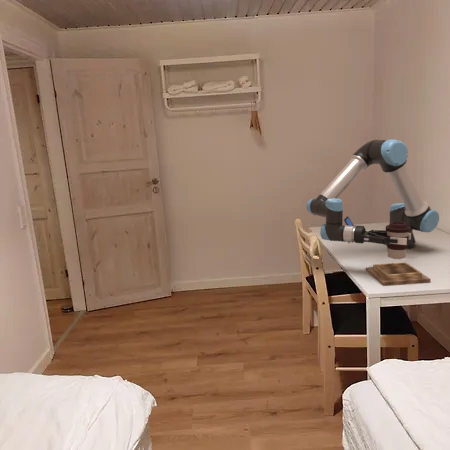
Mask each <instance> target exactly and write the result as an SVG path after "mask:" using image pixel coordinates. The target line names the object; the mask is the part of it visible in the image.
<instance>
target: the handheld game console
mask: <svg viewBox="0 0 450 450" xmlns="http://www.w3.org/2000/svg"><path fill="white" fill-rule="evenodd" d="M343 221H344V223H345V224H346V225H345V226H355V227H357V226H359V227H365V226H364V225H355V224H353V222H352V220H351V219H350V217H349V216H348V215H347V216H346V217H345V218H344V219H343Z"/></svg>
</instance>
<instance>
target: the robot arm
mask: <svg viewBox="0 0 450 450" xmlns="http://www.w3.org/2000/svg"><path fill="white" fill-rule="evenodd" d="M407 147H408V146H407V145H406V144H405V143H404V142H403V141H401V140H398V139H372V140H370V141H367V142H366V143H364V144H363V145H362V146H360V147H359V148H358V149H357V150H356V151H355V152H354V153H353V154H352V155H351V156H350V160H349V161H348V162H347V163H346V165H345V166H343V168H342V169H341V170H340V171H339V173H337V175H336V176H335V177H334V178H333V179H332V180H331V181H330V183H328V185H327V186H326V187H325V188H324V189H323V190H322V191H321V193H320V194H318V196H317V197H316V198H311V199H309V200H308V201H307V203H306V207H305V208H306V211H307V213H309V214H311V215H313V216H318V217H321V218H324V219H325V223H323V224H322V225H321V227H320V231H319V233H320V238H321V239H323V240H325V241H330V242H344V243H347V244H351V243H353V244H354V243H355V244H364V243H373V244H378V245H385V246H387V245H389V243H390V244H401V245H407V238H397V237H390V238H389V237H387V231H386V229H383V230H382V229H370V230H369V231H367V230H366V228H365V226H364V227H359V226H360V225H354V226H347V225H344V224H343V221H344V219H343V218H344V217H343V214H344V213H343V211H344V206H343V200H342V199H341V198H339V197H340V196H341V194H343V192H345V190H346V189H347V188H348V187H349V185H351V183H352V182H353V181H354V180H355V179H356V178H358V176H359V175H360V174H361V172H362V171H364V170H367V169H368V168H369V167H370V166H372V165H379V166H380V168H381V170H382V171H383V172H384V173H385V174H388V176H389V178H390V180H391V182H392V184H393V187H394V188H395V190H396V192H397V193H398V196H399V197H400V200H401V201H402V202H400V203H399V202H398V203H397V202H396V203H393V204H391V205H390V206H389V224H390V223H391V222H404V223H406V224H407V226H409V227H410V228H411V230H410V232H409V234H408V235H409V239H408V246H407V249H412V248H415V247H416V246H417V245H416V244H417V241H416V238H415V234H414V232H413V231H419V232H421V233H431V232H433V231H434V230H435V229H436V228H437V226H438V225H439V221H440V214H439V212H438V211H437V210H436V209H431V207H430V206H429V203H428V201H425V200H423V199H422V196H421V194H420V192H419V190H418V188H417V186H416V184H415V182H414V180H413V177H412V176H411V174H410V172H409V170H408V167H407V166H406V164H407V162H408V160H407V159H408V153H409V151H408V148H407ZM355 226H357V227H355Z"/></svg>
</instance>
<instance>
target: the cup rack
mask: <svg viewBox="0 0 450 450" xmlns="http://www.w3.org/2000/svg"><path fill="white" fill-rule="evenodd" d="M365 272H366V273H368V275H370V276H371V277H372V278H374V279H375V280H376V281H377V282H378V283H379V284H380V285H382V286H383V287H386V286H388V287H389V286H397V285H399V286H400V285H412V284H428V283H431V282H432V281H431V279H432V278H430V277H429V276H427V275H425V274H423V273H422V272H421V271H420V270H419V269H417V268H415V267H414V266H413V265H411V264H409V263H407V262H406V261H405V262H403V261H402V262H391V263H390V262H389V263H378V264H376V263H375V264H372V266H369V267H365Z"/></svg>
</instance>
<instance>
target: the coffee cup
mask: <svg viewBox="0 0 450 450" xmlns="http://www.w3.org/2000/svg"><path fill="white" fill-rule="evenodd" d="M385 230H386V231H387V237H389V238H390V237H397V238H407V245H401V244H390V243H389V245H386V247H387V249H386V250H387V257H388V258H389V259H394V260H403V259H405V258H406V256H407V249H408V248H407V246H408V239H409V235H408V234H409V232H410V230H411V228H410V227H409V226H407V224H406V223H404V222H391V223H390V222H389V223H388V225H385Z"/></svg>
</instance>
